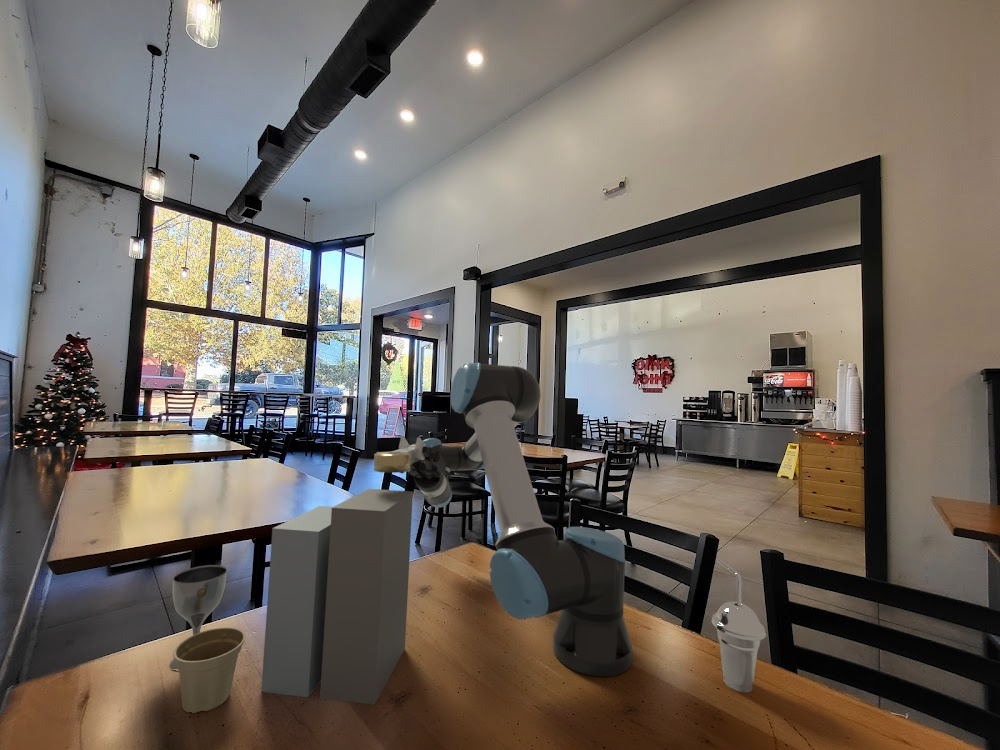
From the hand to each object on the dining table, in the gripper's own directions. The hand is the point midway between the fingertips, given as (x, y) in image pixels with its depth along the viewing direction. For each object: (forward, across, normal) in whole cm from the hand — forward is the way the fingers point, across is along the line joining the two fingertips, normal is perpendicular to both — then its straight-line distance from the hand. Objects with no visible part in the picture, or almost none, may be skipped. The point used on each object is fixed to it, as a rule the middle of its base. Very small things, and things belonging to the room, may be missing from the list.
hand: (409, 442), depth 95 cm
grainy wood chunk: (0, 0, -5) cm, 5 cm away
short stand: (-3, +10, -42) cm, 44 cm away
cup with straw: (-10, -66, -39) cm, 77 cm away
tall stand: (-3, 0, -42) cm, 42 cm away
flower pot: (+6, +22, -48) cm, 53 cm away
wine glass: (-2, +32, -43) cm, 54 cm away
